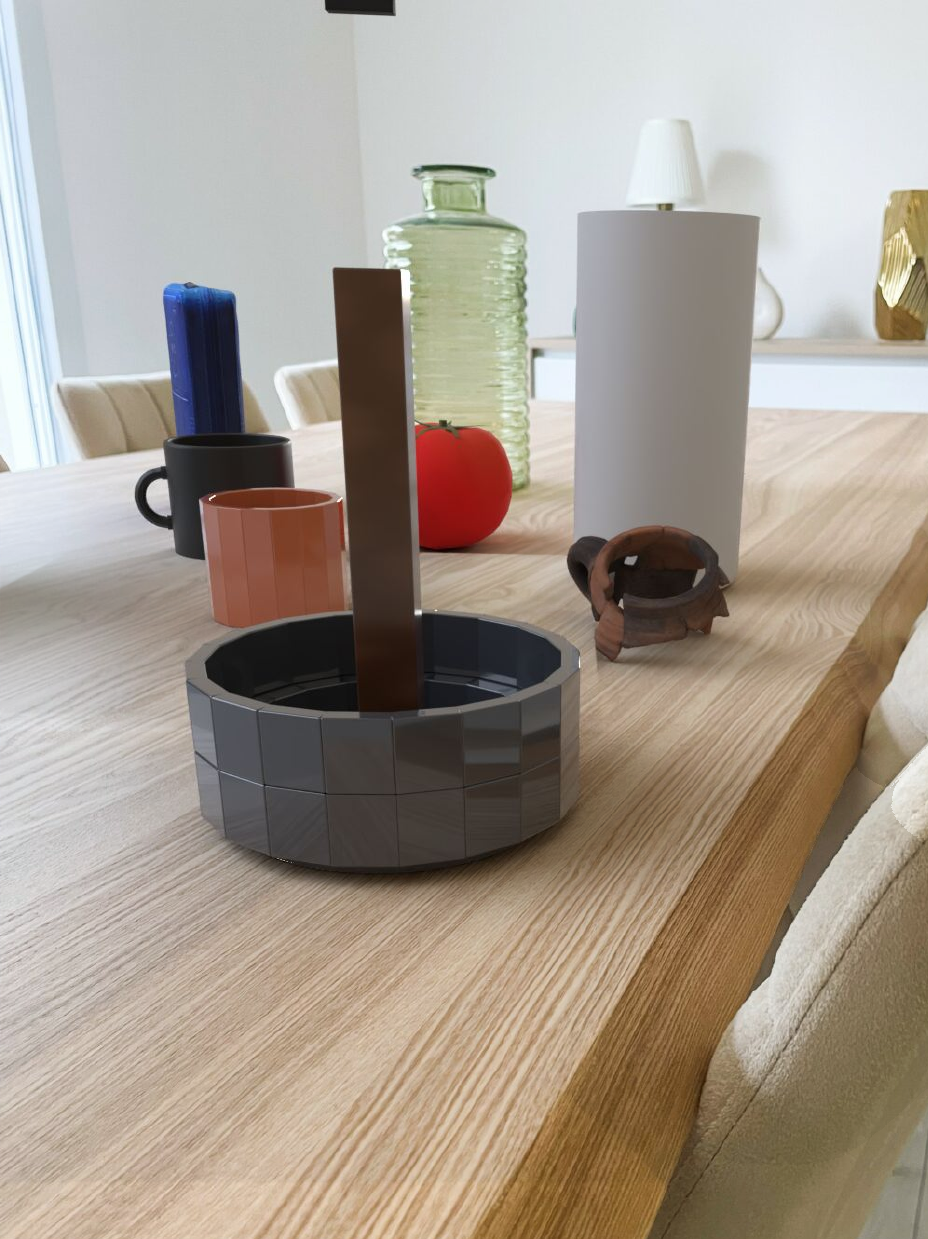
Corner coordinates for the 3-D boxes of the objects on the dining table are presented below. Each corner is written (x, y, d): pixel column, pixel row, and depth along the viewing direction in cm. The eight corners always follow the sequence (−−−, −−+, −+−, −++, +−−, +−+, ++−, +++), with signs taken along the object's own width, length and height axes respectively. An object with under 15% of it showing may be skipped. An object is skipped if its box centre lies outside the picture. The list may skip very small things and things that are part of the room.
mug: (153, 547, 99) (138, 432, 95) (303, 545, 101) (295, 433, 97) (131, 572, 90) (115, 447, 87) (296, 569, 92) (286, 447, 89)
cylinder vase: (765, 577, 94) (792, 220, 84) (684, 607, 84) (704, 209, 74) (629, 556, 100) (639, 221, 90) (540, 582, 91) (540, 211, 81)
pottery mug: (756, 645, 78) (764, 546, 71) (671, 738, 73) (670, 642, 67) (608, 571, 82) (602, 473, 76) (519, 655, 78) (504, 558, 71)
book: (177, 501, 120) (153, 281, 112) (233, 499, 122) (212, 282, 114) (198, 526, 108) (172, 282, 100) (259, 523, 110) (238, 284, 102)
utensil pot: (197, 641, 74) (182, 508, 70) (232, 607, 81) (220, 486, 78) (336, 643, 74) (327, 510, 71) (358, 610, 82) (351, 489, 78)
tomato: (371, 533, 107) (365, 411, 102) (499, 530, 109) (498, 411, 105) (385, 561, 96) (378, 426, 92) (526, 557, 99) (526, 426, 95)
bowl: (150, 885, 44) (127, 715, 41) (253, 738, 58) (240, 605, 56) (579, 888, 44) (582, 721, 42) (576, 742, 59) (578, 611, 56)
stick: (363, 797, 50) (331, 267, 42) (372, 775, 52) (343, 268, 44) (421, 797, 50) (401, 269, 42) (428, 776, 52) (409, 269, 44)
